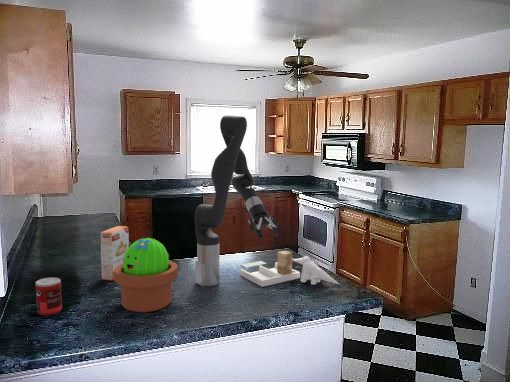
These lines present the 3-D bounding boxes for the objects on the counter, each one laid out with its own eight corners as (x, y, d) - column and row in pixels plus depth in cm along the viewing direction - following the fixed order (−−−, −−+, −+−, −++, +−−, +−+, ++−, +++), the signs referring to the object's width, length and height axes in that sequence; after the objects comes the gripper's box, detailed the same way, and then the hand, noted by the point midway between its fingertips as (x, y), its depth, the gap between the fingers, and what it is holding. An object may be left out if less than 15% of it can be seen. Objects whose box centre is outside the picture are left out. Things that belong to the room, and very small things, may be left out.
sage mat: (254, 272, 188) (254, 271, 188) (240, 265, 198) (240, 264, 198) (275, 268, 195) (275, 267, 195) (261, 261, 204) (261, 260, 204)
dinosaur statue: (293, 274, 183) (296, 250, 181) (342, 292, 169) (346, 266, 167) (285, 278, 178) (287, 253, 176) (334, 297, 164) (338, 270, 162)
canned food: (42, 307, 147) (40, 277, 146) (65, 306, 148) (64, 277, 147) (32, 316, 140) (31, 285, 138) (57, 315, 140) (55, 284, 139)
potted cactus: (147, 288, 167) (145, 227, 164) (189, 299, 156) (188, 234, 153) (102, 306, 148) (99, 238, 145) (147, 321, 137) (145, 247, 134)
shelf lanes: (262, 289, 167) (262, 280, 167) (239, 277, 181) (240, 269, 181) (299, 280, 178) (300, 272, 178) (276, 269, 192) (276, 262, 192)
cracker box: (114, 281, 174) (112, 232, 172) (101, 280, 176) (99, 232, 173) (130, 270, 188) (129, 225, 185) (118, 269, 189) (116, 225, 187)
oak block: (283, 279, 176) (284, 254, 175) (277, 276, 180) (277, 251, 178) (291, 277, 179) (292, 252, 177) (285, 274, 182) (285, 250, 181)
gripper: (246, 204, 188) (260, 234, 180) (271, 202, 196) (285, 230, 188) (239, 214, 193) (253, 243, 185) (264, 211, 201) (278, 239, 193)
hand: (269, 236), depth 187 cm, fingers open, 8 cm apart
